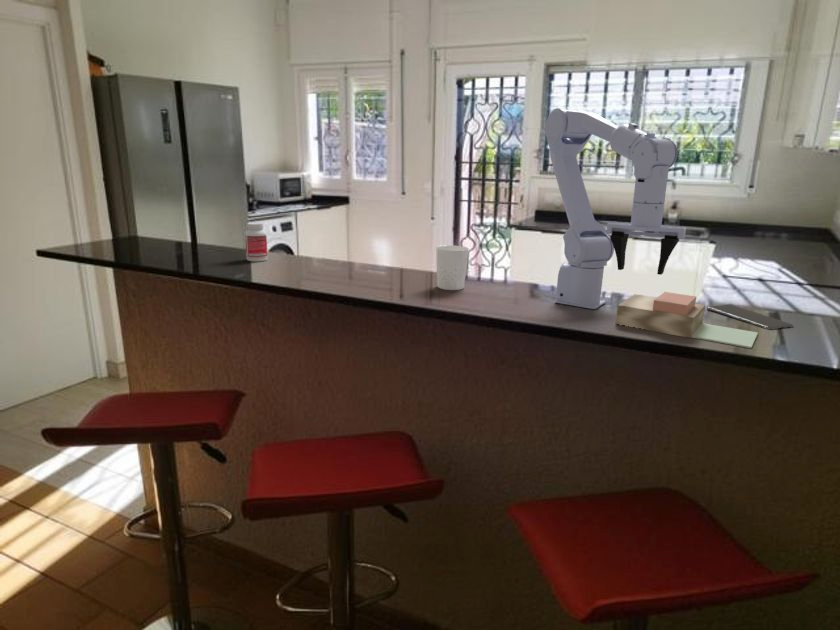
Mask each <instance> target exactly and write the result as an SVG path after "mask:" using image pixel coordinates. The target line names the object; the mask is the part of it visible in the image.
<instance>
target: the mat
mask: <svg viewBox="0 0 840 630" xmlns="http://www.w3.org/2000/svg"><path fill="white" fill-rule="evenodd" d="M758 335H759V332H757V331H752V330H745V329H740V328H733V327H729V326H727V327H726V326H721V325H716V324H709V323H704V322H702V324H701V325H700V326H699V327H698V328H697V330H696V331H695V332H694V333H693V334H692V336H691V338H693V339H698V340H703V341H707V342H709V341H710V342H714V343H721V344H726V345H730V346H736V347H741V348H747V349H752V347H753V346H754V344H755V340H756V339H757V337H758Z"/></svg>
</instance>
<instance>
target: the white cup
mask: <svg viewBox="0 0 840 630" xmlns="http://www.w3.org/2000/svg"><path fill="white" fill-rule="evenodd" d="M435 250H436V251H435V252H436V277H437V280H436V281H437V285H436V287H437V288H438V289H440V290H445V291H447V290H448V291H460V290H463V289H465V281H466V274H467V266H468V258H469V254H468V253H469V248H468V247H466V246H462V245H439V246H436V249H435Z"/></svg>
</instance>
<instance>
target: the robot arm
mask: <svg viewBox="0 0 840 630" xmlns="http://www.w3.org/2000/svg"><path fill="white" fill-rule="evenodd" d="M546 119H547V120H546V123H545V125H544V127H543V128H544V129H543V130H544V133H545V136H546V141H547V144H548V147H549V154H550V155H549V156H550V160H551V161H550V162H551V165H552V168H553V172H554V175H555V178H556V182H557V186H558V189H559V190H558V191H559V193H560V195H561V200H562V204H563V207H564V210H565V213H566V217H567V220H568V224H569V228H568V229H567V230H566V232H564V234H563V236H562V239H563V242H564V246H563V247H564V250H563V251H564V256H565V259H566V262H564V263H561V266H560V267H559V270H558V273H557V282H556V283H557V285H556V295H555V299H554V303H557V304H562V305H567V306H573V307H578V308H585V309H590V310H596V309H598V308H599V307H600V306H602V305H605V304H606V303H607V300H603V299H601V295H602V287H603V278H604V270H605V267H606V266H607V265H608V264H607V263H608V261H610V260H611V259H612V258H613V256H614V254H615V257H616V262H617V263H616V264H617V270H618V271H622V270H624V269H625V264H626V250H627V245H628V240H629V236H630V235H636V236H650V237H662V238H661V239H660V254H659V260H658V266H657V272H656V273H657V274H656V275H663V274H664V273H665V267H666V266H667V262H668V260H669V258H670V256H671V254H672V252H673V251H674V249H675V247H676V246H677V245H678V243H679V241H680V239H681V240H684V239H685V238H686V233H687V227H680V226H679V227H678V226H667V225H663V223H662V222H663V215H664V209H665V207H664V206H665V202H666V195H667V193H666V192H667V184H668V177H669V170H670V169H671V167H673V165H674V164H675V163H676V161H677V158H678V147H677V144H676V143H675V142H674V141H673V140H671V138H667V137H665V138H657V137H656V134H655V133H654V132H651V131H648V132H646V131H644V130H642V129H640V128H639V124H637V123H633V122H629V123H627V124H626V123H625V124H622V125H617V124H615V123H613V122H611V121H610V120H608V119H606V118H604V117H603V116H601V115H599V114H598V113H596V112H592V111H590V110H586V109H585V110H576V109H575V110H574V109H562V108H554V109H553V110H551V112H550V113H549V115H548V117H547V118H546ZM592 136H595V137H597V138H600V139H602V140H603V141H604V140H605V141H606V142H609V144H610V149H611V150H612V151H613V152H615V153H616V154H618V155H620V156H622V157H623V158H625V159H628V160H629V161H631V163H632V165H633V170H634V171H633V172H634V173H633V175H634V178H635V181H634V183H635V184H634V191H633V199H632V209H631V218H630V223H628V222H626V223H625V222H607V226H606V227H605V226H604V225H603V224H601V223H600V222H598V221H597V220H596V219H595V216H594V213H593V210H592V205H591V202H590V200H589V196H588V193H587V190H586V186H585V183H584V179H583V176H582V172H581V169H580V167H579V162H578V159H577V155H578V154H580V153H581V152H582V151H583V150H584V148H585V146H586V145H587V144H588V141H589V140H590V138H591V137H592ZM608 233H609V234H611V235H610V236H609V235H608ZM614 252H615V253H614Z"/></svg>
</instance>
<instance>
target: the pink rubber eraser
mask: <svg viewBox="0 0 840 630" xmlns="http://www.w3.org/2000/svg"><path fill="white" fill-rule="evenodd" d="M696 302H697V296H696V295H689V294H680V293H674V292H667V291H664V292H663V293H661V294H660V295H658V297H656V299H655V300H654V303H653V310H655V311H661V312H667V313H673V314H679V315H685V316H686V315H687V314H688V313H689V312H690V311H691V310H692V309H693V308H694V307H695V304H697V303H696Z"/></svg>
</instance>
